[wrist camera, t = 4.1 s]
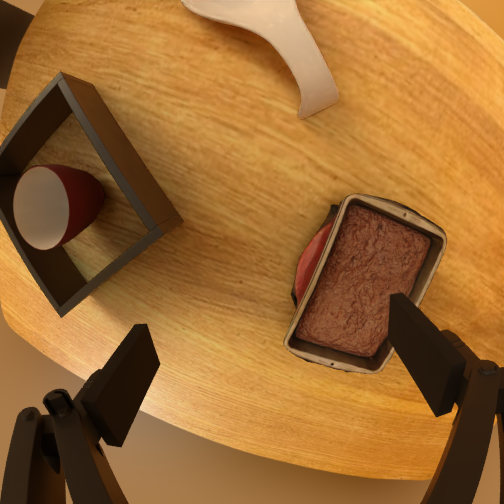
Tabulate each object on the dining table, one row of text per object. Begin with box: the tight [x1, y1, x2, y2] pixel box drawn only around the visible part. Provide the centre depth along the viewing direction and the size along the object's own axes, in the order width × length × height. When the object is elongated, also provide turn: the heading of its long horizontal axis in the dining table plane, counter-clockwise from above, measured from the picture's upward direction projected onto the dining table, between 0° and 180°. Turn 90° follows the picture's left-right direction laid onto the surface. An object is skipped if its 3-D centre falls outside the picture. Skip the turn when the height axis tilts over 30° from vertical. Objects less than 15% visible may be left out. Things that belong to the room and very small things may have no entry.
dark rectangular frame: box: [0, 71, 183, 318], centre depth 29 cm, size 21×17×7 cm
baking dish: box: [283, 194, 447, 374], centre depth 30 cm, size 14×18×10 cm
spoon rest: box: [181, 0, 339, 119], centre depth 23 cm, size 24×12×7 cm, turn 31°
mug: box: [13, 165, 104, 250], centre depth 27 cm, size 10×8×10 cm
